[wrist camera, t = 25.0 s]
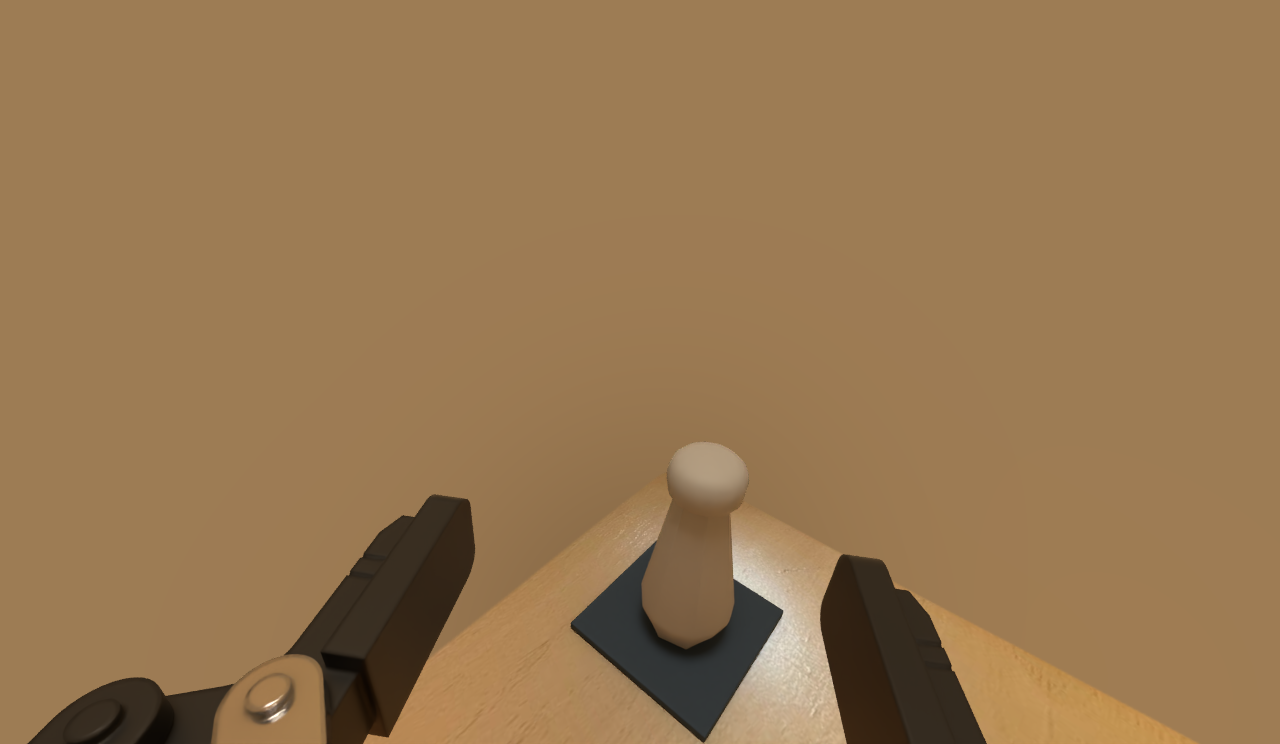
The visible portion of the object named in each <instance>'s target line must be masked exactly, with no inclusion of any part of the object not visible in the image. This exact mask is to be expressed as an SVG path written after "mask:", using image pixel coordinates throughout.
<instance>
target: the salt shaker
mask: <svg viewBox="0 0 1280 744" xmlns="http://www.w3.org/2000/svg"><path fill="white" fill-rule="evenodd" d="M748 482H749V474H748V470H747V467H746V464H745V462H744V461H743V460H742V459H741V458H739V457H738V456H737V455H736V454H735V453H734V452H733V451H732V450H730V449H728V448H726V447H724V446H722V445H720V444H715V443H710V442H697V443H691V444H689V445H687V446H685V447H683V448H681V449H679V450H677V451H676V453H675V454H674V456H673V457H672V459H671V461H670V463H669V466H668V470H667V483H668V490H669V494H670V496H671V497H672V498H673V499H672V502H671V504H670V507H669V510H668V513H667V515H666V518H665V521H664V523H663V526H662V529H661V532H660V534H659V537H658V540H657V542H656V545H655V548H654V550H653V553H652V556H651V559H650V561H649V564H648V567H647V569H646V572H645V575H644V577H643V580H642V583H641V585H642V605H643V608H644V610H645V612H646V614H647V615H648V617H649V619H650V621H651V622H652V624H653V626H654V628H655V630H656V632H657V635H658V637H660V638H662V639H664V640H666V641H669V642H671V643H673V644H675V645H677V646H679V647H682V648H684V649H688V648H690V647H692V646H694V645H696V644H699V643H701V642H703V641H705V640H708V639H710V638H712V637H713V636H715V635H716V634H717V633H718V632H719V631H721V630H722V629H723V628H724V627H726V626H727V624H728V622H729V621H730V617H731V614H732V610H733V606H734V583H733V561H732V539H731V517H730V513H731V512H733V511H734V510H736V509H738V508H739V507H740V505H741V504H742V502H743V499H744V496H745V493H746V490H747V487H748Z"/></svg>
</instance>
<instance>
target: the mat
mask: <svg viewBox="0 0 1280 744" xmlns="http://www.w3.org/2000/svg"><path fill="white" fill-rule="evenodd" d="M656 542H657V541H656ZM656 542H655V543H654V544H653V545H652V546H651V547H649V548H648V549H647V550H646V551H645V552H644V553H643V554H642V555H641V556H640V557H639V558H638V559H637V560H636V561H635V562H634V563H633V564H632V565H631V566H630V567H629V568H628V569H626V570H625V571H624V572H623V573H622V574H621V575H620V576H619V577H618V578H617V579H616V580H615V581H614V582H613V583H612V584H611V585H610V586H609V587H608V588H607V589H606V590H605V591H603V592H602V593H601V594H600V595H599V596H598V597H597V598H596V599H595V600H594V601H593V602H592V603H591V604H590V605H589V606H588V607H587V608H586V609H585V610H584V611H583V612H582V613H580V614H579V615H578V616H577V617H576V618H575V619H574V620H573V621H572V622H571V628H572V629H573V630H574V631H576V632H577V633H578V634H579V635H580V636H581V637H583V638H584V639H585V640H586V641H587V642H588V643H589V644H591V645H592V646H593V647H594V648H595V649H596V650H598V651H599V652H600V653H601V654H602V655H603V656H604V657H606V658H607V659H608V660H609V661H610V662H611V663H613V664H614V665H615V666H616V667H617V668H618V669H619V670H621V671H622V672H623V673H624V674H625V675H626V676H628V677H629V678H630V679H631V680H632V681H633V682H634V683H636V684H637V685H638V686H639V687H640V688H641V689H643V690H644V691H645V692H646V693H647V694H648V695H650V696H651V697H652V698H653V699H654V700H655V701H656V702H658V703H659V704H660V705H661V706H662V707H663V708H665V709H666V710H667V711H668V712H669V713H670V714H671V715H673V716H674V717H675V718H676V719H677V720H678V721H680V722H681V723H682V724H683V725H684V726H685V727H686V728H688V729H689V730H690V731H691V732H692V733H693V734H695V735H696V736H697V737H698V738H699V739H700V740H701V741H703V742H705V740H706V738H707V737H708V735H709V734H710V732H711V730H712V729H713V727H714V725H715V724H716V722H717V721H718V719H719V717H720V716H721V714H722V712H723V711H724V709H725V708H726V706H727V704H728V703H729V701H730V699H731V698H732V696H733V695H734V693H735V691H736V690H737V688H738V686H739V685H740V683H741V682H742V680H743V678H744V677H745V675H746V673H747V672H748V670H749V669H750V667H751V665H752V664H753V662H754V660H755V659H756V657H757V656H758V654H759V652H760V651H761V649H762V647H763V646H764V644H765V643H766V641H767V639H768V638H769V636H770V634H771V633H772V631H773V630H774V628H775V626H776V625H777V623H778V621H779V620H780V618H781V617H782V614H783V610H782V609H780V608H778V607H777V606H775V605H774V604H772V603H771V602H769V601H767V600H766V599H764V598H763V597H761V596H760V595H758V594H757V593H755V592H753V591H752V590H750V589H749V588H747V587H746V586H744V585H742V584H741V583H739V582H738V581H736V580H735V579H733V583H734V606H733V610H732V614H731V617H730V621H729V622H728V624H727V626H726V627H724V628H723V629H722V630H721V631H719V632H718V633H717V634H716V635H715V636H713V637H712V638H710V639H708V640H705V641H703V642H701V643H699V644H696V645H694V646H692V647H690V648H688V649H684V648H682V647H679V646H677V645H675V644H673V643H671V642H669V641H666V640H664V639H662V638H660V637H658V635H657V632H656V630H655V628H654V626H653V624H652V622H651V621H650V619H649V617H648V615H647V614H646V612H645V610H644V608H643V605H642V585H641V583H642V580H643V577H644V575H645V572H646V569H647V567H648V564H649V561H650V559H651V556H652V553H653V550H654V548H655V545H656Z"/></svg>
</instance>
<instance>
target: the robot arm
mask: <svg viewBox="0 0 1280 744" xmlns="http://www.w3.org/2000/svg"><path fill="white" fill-rule="evenodd" d="M474 554H475V544H474V534H473V525H472V516H471V507H470V502H469V501H468V499H462V498H455V497H448V496H442V495H432V496H430V497H429V498H428V499H427V500H426V502H425V503H424V505H423V506H422V508H421V509H420V510H419V512H418V513H417V515H416V516H415V517H410V516H401V517H400V518H399V519H397V520H396V521H394V522H393V523H392V524H390V525H389V526H388V527H386V528H385V529H384V530H382V531H381V532H380V533H379V534H378V535H377V536H376V538H375V539H374V541H373V542H372V543H371V544H370V546H369V547H368V548H367V550H366V551H365V552H364V555H363V557H362V558H360V559H359V560H358V561H357V563H356V564H355V565H354V567H353V568H352V569H351V571H350V575H349V576H346V577H345V578H344V580H343V581H342V582H341V584H340V585H339V586H338V588H337V589H336V590H335V592H334V593H333V594H332V596H331V597H330V598H329V600H328V601H327V602H326V603H325V605H324V606H323V608H322V609H321V610H320V611H319V613H318V614H317V615H316V617H315V618H314V619H313V621H312V622H311V623H310V624H309V626H308V627H307V628H306V630H305V631H304V632H303V634H302V635H301V636H300V638H299V639H298V640H297V642H296V643H295V644H294V645H293V646H292V648H291V649H290V650H289V651H288V652H287V653H286V654H285V655H284V656H280V657H277V658H274V659H271V660H269V661H266V662H264V663H262V664H260V665H259V666H257V667H255V668H254V669H252V670H251V671H249V672H248V673H247V674H245V675H244V676H243V677H242V678H241V679H239V680H238V681H237V682H236V683H235V684H231V685H227V686H223V687H216V688H211V689H204V690H199V691H193V692H187V693H181V694H175V695H169V696H165V695H164V693H163V692H162V690H161V689H160V687H159V686H158V685H157V684H156V683H155V682H154V681H152V680H150V679H146V678H127V679H122V680H119V681H115V682H112V683H109V684H106V685H104V686H101V687H99V688H97V689H95V690H93V691H91V692H89V693H87V694H86V695H84V696H82V697H81V698H79V699H77V700H76V701H75V702H73V703H71V704H70V705H69V706H67V707H66V708H65V709H64V710H62V711H61V712H60V713H59V714H58V715H56V716H55V717H54V718H53V719H52V720H51V721H50V722H49V723H48V724H47V725H46V726H45V727H44V728H43V729H42V730H41V731H40V732H39V733H38V734H37V735H36V736H35V737H34V738H33V739H32V740H31V741H30V742H29V743H28V744H363V742H364V740H365V739H366V737H367V735H368V734H371V735H377V736H382V737H389V735H390V733H391V731H392V729H393V727H394V725H395V723H396V721H397V719H398V717H399V715H400V713H401V711H402V709H403V707H404V705H405V703H406V701H407V699H408V697H409V695H410V693H411V691H412V689H413V687H414V685H415V683H416V681H417V679H418V677H419V675H420V673H421V671H422V669H423V667H424V665H425V663H426V661H427V659H428V657H429V655H430V653H431V651H432V649H433V647H434V645H435V643H436V641H437V639H438V637H439V635H440V633H441V631H442V629H443V627H444V625H445V623H446V621H447V619H448V617H449V615H450V613H451V611H452V609H453V607H454V605H455V603H456V601H457V599H458V597H459V595H460V593H461V591H462V589H463V587H464V585H465V583H466V581H467V579H468V577H469V574H470V572H471V569H472V565H473V561H474ZM820 622H821V631H822V636H823V641H824V645H825V649H826V654H827V658H828V663H829V667H830V672H831V676H832V680H833V685H834V689H835V694H836V698H837V702H838V707H839V711H840V716H841V720H842V724H843V729H844V733H845V738H846V742H847V744H987V743H986V741H985V739H984V737H983V734H982V732H981V730H980V728H979V725H978V723H977V721H976V719H975V717H974V714H973V712H972V710H971V708H970V705H969V703H968V701H967V699H966V696H965V694H964V692H963V690H962V687H961V685H960V683H959V681H958V678H957V676H956V674H955V672H954V671H952V669H951V666H952V665H951V663H950V661H949V658H948V656H947V654H946V652H945V649H944V648H942V647H941V640H940V638H939V636H938V634H937V631H936V629H935V627H934V625H933V622H932V620H931V618H930V616H929V614H928V613H927V612H926V611H925V610H924V609H923V607H922V606H921V605H920V604H919V603H918V601H917V600H916V599H915V598H914V597H913V596H912V594H911V593H910V592H909V591H907V590H900V589H895V587H894V585H893V582H892V580H891V577H890V575H889V572H888V570H887V567H886V565H885V564H884V562H883V561H882V560H879V559H873V558H866V557H859V556H852V555H845V554H843V555H841V556H840V558H839V560H838V562H837V565H836V567H835V570H834V572H833V575H832V577H831V580H830V583H829V585H828V588H827V590H826V593H825V595H824V598H823V601H822V605H821V613H820Z"/></svg>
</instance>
